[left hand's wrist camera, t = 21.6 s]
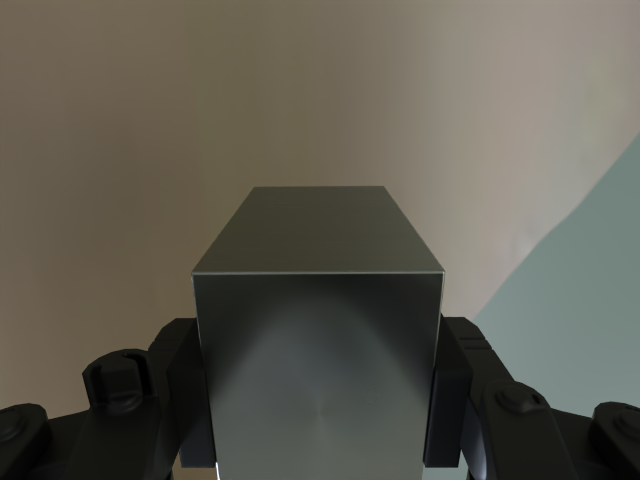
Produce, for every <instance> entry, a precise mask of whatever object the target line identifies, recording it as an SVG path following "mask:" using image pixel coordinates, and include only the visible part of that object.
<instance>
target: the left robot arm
mask: <svg viewBox="0 0 640 480" xmlns="http://www.w3.org/2000/svg"><path fill="white" fill-rule="evenodd" d="M82 376H83V380H84V384H85V387H86V391H87V395H88V399H89V403H90V408H89V410H86V411H82V412H79V413H75V414H71V415H66V416H62V417H57V418H53V419H49V420H48V417H47V413H46V410H45V409H44V408H43V407H41V406H40V405H37V404H31V403H27V404H19V405H14V406H11V407H8V408H5V409H2V410H0V480H174V479H173V472H172V466H173V464H174V461H175V459H176V456H177V454H178V451H179V454H180V460H181V466H182V468H214V467H215V464H216V460H215V452H214V445H213V437H212V429H211V422H210V414H209V406H208V398H207V390H206V382H205V374H204V367H203V361H202V354H201V346H200V339H199V331H198V323H197V316H196V318H176V319H174V320H173V321H171V322H170V323H169V324H167V325H166V326H164V327H163V328H162V329H161V331H160V332H159V334H158V335H157V336H156V338H155V341H153V342H152V344H151V345H150V347H149V348H148V351H144V350H140V349H123V350H119V351H114V352H111V353H108V354H106V355H104V356H102V357H99V358H98V359H96V360H95V361H94V362H92V363H91V364H89V365H88V366H87V368H86V369H85V370H84V371H83V373H82ZM461 450H462V452H463V455H464V457H465V460H466V462H467V465H468V473H467V478H466V480H640V408H638V407H635V406H632V405H629V404H626V403H619V402H605V403H600V404H599V405H598V406H597V407H596V408H595V409H594V412H593V416H592V418H590V417H585V416H581V415H577V414H572V413H568V412H563V411H560V410H556V409H553V408H550V405H549V404H548V402H547V401H546V400H545V398H544V397H543V396H542V395H541V394H540V393H538V392H537V391H536V390H535V389H533V388H531V387H529V386H527V385H525V384H523V383H520V382H517V381H515V380H514V379H513V378H512V376H511V375H510V373H509V372H508V370H507V369H506V367H505V366H504V364H503V363H502V362H501V360H500V359H499V357H498V356H497V354H496V353H495V351H494V350H492V347H491V345H490V344H489V343H488V341H487V340H485V337H484V335H483V334H482V332H481V331H480V329H479V328H478V327H477V326H476V325H474V324H473V323H472V322H470V321H469V320H467V319H466V318H465V317H443V315H442V313H441V315H440V324H439V333H438V342H437V350H436V359H435V368H434V377H433V386H432V394H431V403H430V412H429V421H428V430H427V439H426V447H425V456H424V465H425V467H426V468H448V467H449V468H458V464H459V458H460V452H461Z"/></svg>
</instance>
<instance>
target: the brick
mask: <svg viewBox="0 0 640 480" xmlns="http://www.w3.org/2000/svg"><path fill="white" fill-rule="evenodd" d="M191 278H192V285H193V293H194V300H195V308H196V316H197V323H198V331H199V339H200V346H201V354H202V361H203V367H204V374H205V382H206V390H207V398H208V406H209V414H210V422H211V429H212V437H213V445H214V452H215V460H216V468H217V476H218V480H422V474H423V465H424V456H425V447H426V439H427V430H428V421H429V412H430V403H431V394H432V386H433V377H434V368H435V359H436V350H437V342H438V333H439V324H440V315H441V306H442V297H443V289H444V280H445V270H444V269H443V267H442V266H441V265H440V263H439V262H438V260H437V259H436V258H435V256H434V255H433V253H432V252H431V251H430V249H429V248H428V247H427V245H426V244H425V242H424V241H423V240H422V238H421V237H420V235H419V234H418V233H417V231H416V230H415V229H414V227H413V226H412V224H411V223H410V222H409V220H408V219H407V217H406V216H405V215H404V213H403V212H402V211H401V209H400V208H399V206H398V205H397V204H396V202H395V201H394V199H393V198H392V197H391V195H390V194H389V193H388V191H387V190H386V188H385V187H384V186H310V187H254V188H253V189H252V191H251V192H250V193H249V195H248V196H247V198H246V199H245V200H244V202H243V203H242V204H241V206H240V207H239V208H238V210H237V211H236V212H235V214H234V215H233V216H232V218H231V219H230V221H229V222H228V223H227V225H226V226H225V227H224V229H223V230H222V231H221V233H220V234H219V235H218V237H217V238H216V239H215V241H214V242H213V244H212V245H211V246H210V248H209V249H208V250H207V252H206V253H205V254H204V256H203V257H202V258H201V260H200V261H199V263H198V264H197V265H196V267H195V268H194V269H193V271H192V272H191Z"/></svg>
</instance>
